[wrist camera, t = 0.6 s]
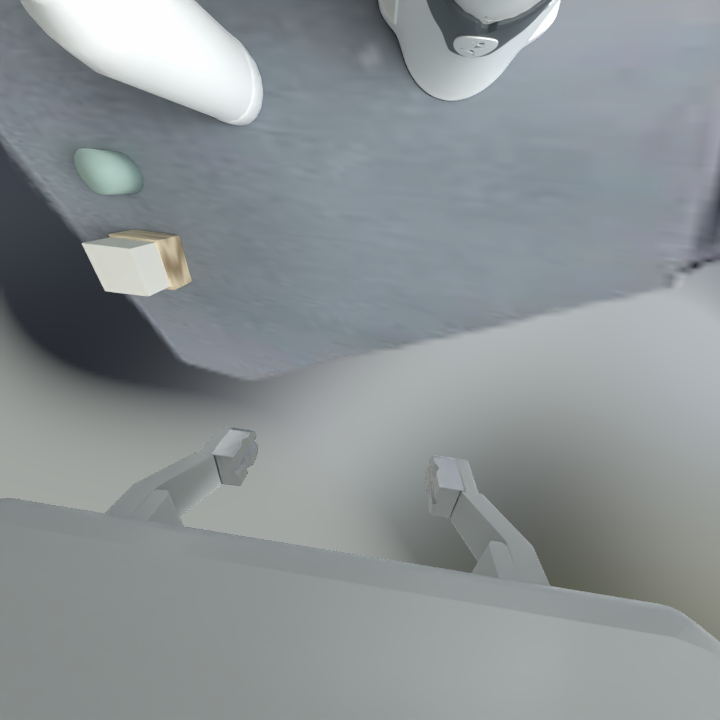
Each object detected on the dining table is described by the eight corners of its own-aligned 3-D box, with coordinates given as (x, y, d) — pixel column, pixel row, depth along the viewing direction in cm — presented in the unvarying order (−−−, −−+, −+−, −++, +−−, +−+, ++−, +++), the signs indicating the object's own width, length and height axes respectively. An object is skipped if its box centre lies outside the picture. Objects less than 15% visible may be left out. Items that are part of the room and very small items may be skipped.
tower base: (134, 229, 44) (108, 234, 40) (179, 235, 44) (158, 240, 40) (151, 275, 49) (129, 284, 45) (192, 281, 49) (174, 290, 45)
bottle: (268, 129, 35) (-16, -1, 10) (212, 125, 35) (-194, -8, 11) (258, 39, 30) (-295, -581, 6) (194, 35, 31) (-593, -565, 6)
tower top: (112, 236, 40) (81, 243, 36) (156, 242, 40) (129, 248, 36) (131, 281, 44) (105, 291, 40) (170, 285, 44) (148, 296, 40)
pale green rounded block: (100, 149, 38) (66, 145, 34) (135, 153, 38) (104, 150, 34) (116, 191, 41) (86, 192, 37) (148, 195, 41) (121, 196, 37)
